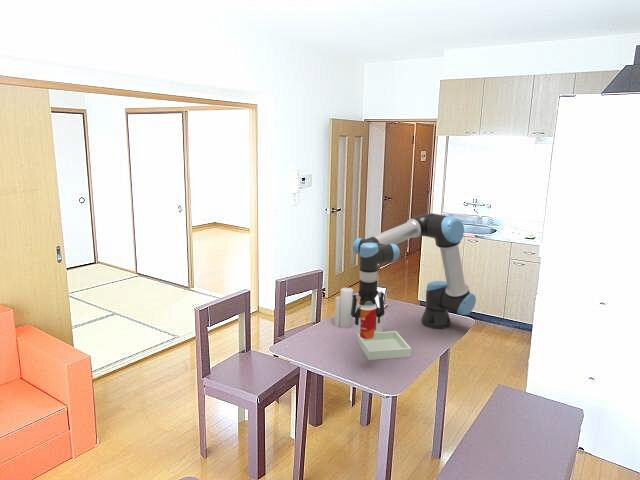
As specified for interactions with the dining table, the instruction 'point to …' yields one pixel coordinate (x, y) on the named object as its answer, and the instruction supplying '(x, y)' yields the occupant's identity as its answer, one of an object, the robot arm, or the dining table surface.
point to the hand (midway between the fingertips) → (367, 330)
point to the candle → (344, 308)
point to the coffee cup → (367, 319)
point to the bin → (384, 346)
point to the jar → (380, 325)
